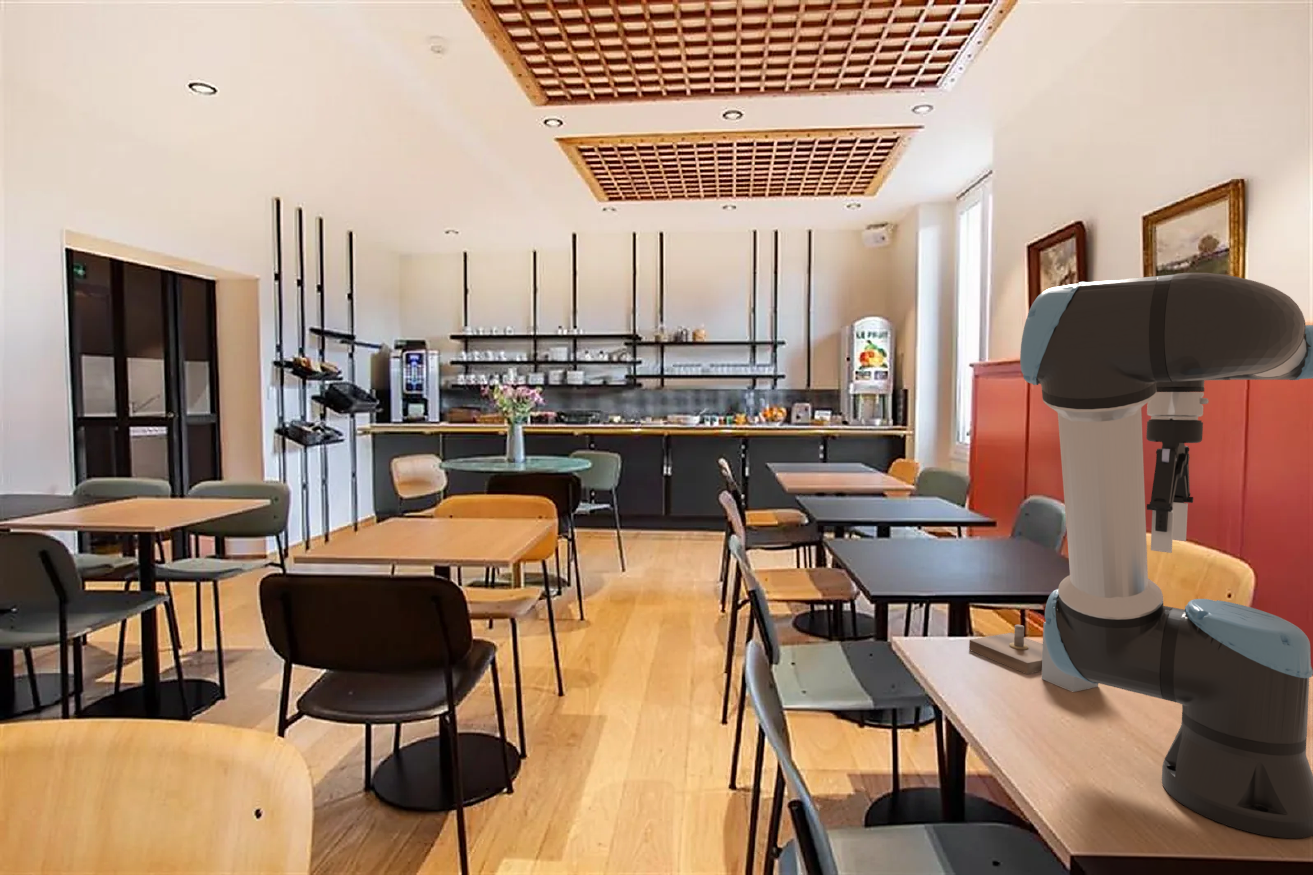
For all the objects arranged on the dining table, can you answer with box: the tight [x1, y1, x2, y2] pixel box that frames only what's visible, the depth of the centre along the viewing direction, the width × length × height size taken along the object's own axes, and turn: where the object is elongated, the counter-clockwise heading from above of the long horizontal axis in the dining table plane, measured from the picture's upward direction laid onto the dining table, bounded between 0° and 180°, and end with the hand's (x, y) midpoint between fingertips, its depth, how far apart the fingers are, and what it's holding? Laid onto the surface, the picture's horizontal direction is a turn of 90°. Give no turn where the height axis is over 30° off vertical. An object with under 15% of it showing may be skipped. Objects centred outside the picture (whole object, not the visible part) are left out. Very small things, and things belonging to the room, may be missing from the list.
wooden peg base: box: [968, 624, 1043, 675], centre depth 134 cm, size 11×13×6 cm
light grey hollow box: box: [1041, 621, 1099, 693], centre depth 122 cm, size 6×6×10 cm
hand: (1168, 545), depth 119 cm, fingers open, 13 cm apart
